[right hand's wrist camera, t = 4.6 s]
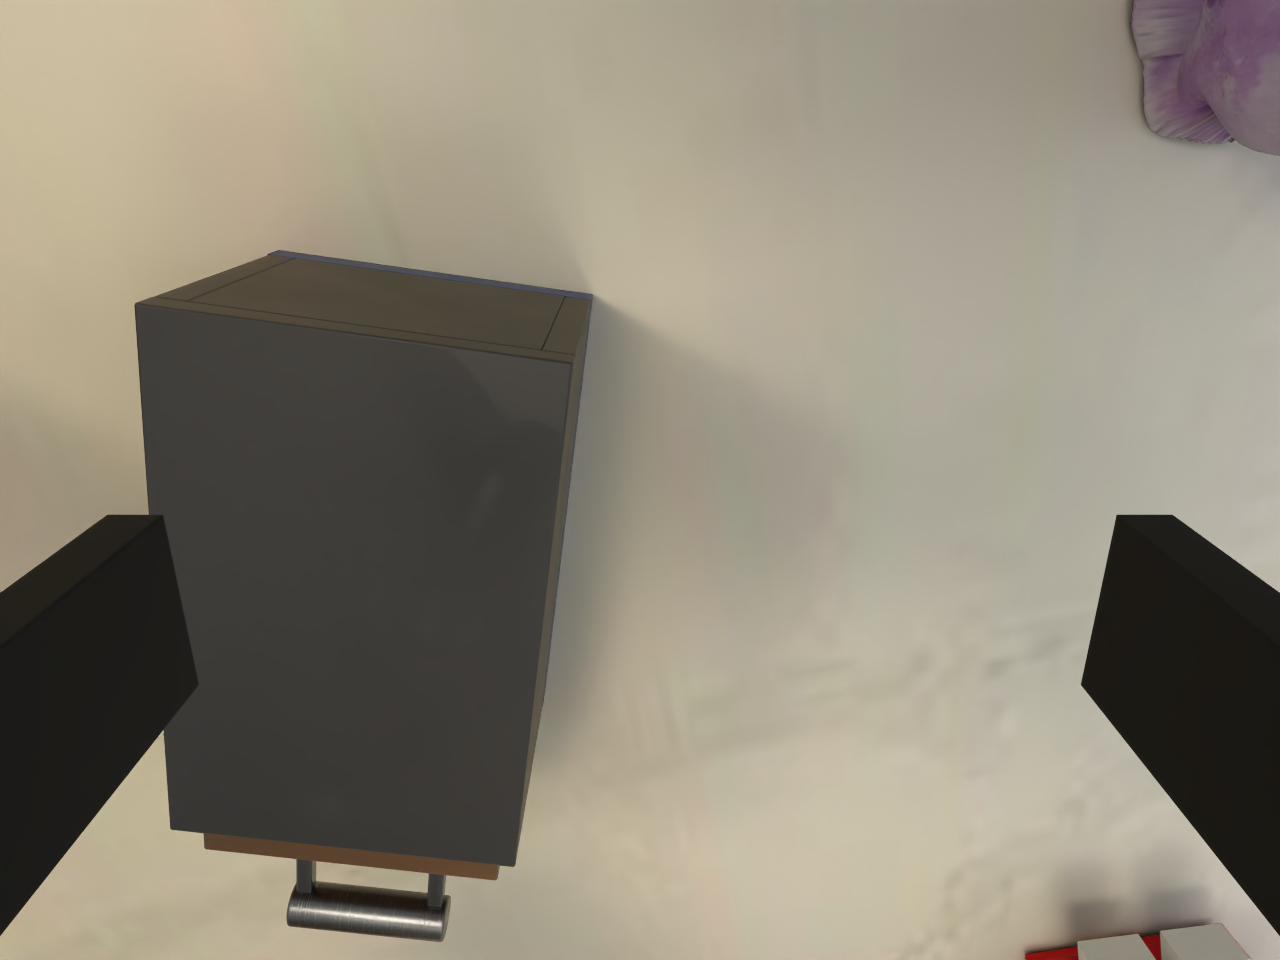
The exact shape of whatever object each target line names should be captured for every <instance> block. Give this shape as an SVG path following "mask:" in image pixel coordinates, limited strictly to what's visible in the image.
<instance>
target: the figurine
mask: <svg viewBox="0 0 1280 960" xmlns="http://www.w3.org/2000/svg"><path fill="white" fill-rule="evenodd" d="M1130 26H1131V29H1132V32H1133V36H1134V39H1135V43H1136V47H1137V51H1138V55H1139V59H1141V61H1142V63H1143V65H1144V70H1143V76H1144V101H1143V105H1144V114H1145V118H1146V121H1147V125H1148V126H1149V128H1150V129H1151V130H1152V131H1154V132H1157V133H1158V134H1159V135H1160V136H1163V137H1168V138H1176V137H1179V138H1180V139H1181V140H1182V139H1184V138H1186V139H1187V140H1188V141H1189V140H1192V139H1193V140H1194V141H1195V142H1197V141H1200V140H1201V141H1202V143H1205V142H1209V143H1210V144H1212V143H1218V144H1221V143H1224V142H1226V141H1229V142H1233V141H1234V140H1236V141H1237V142H1238V143H1240V144H1242V145H1243V146H1245V147H1247V148H1250V149H1252V150H1255V151H1258V152H1262V153H1267V154H1272V155H1278V156H1280V0H1133V10H1132V19H1131V21H1130Z"/></svg>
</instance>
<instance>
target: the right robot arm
mask: <svg viewBox="0 0 1280 960" xmlns="http://www.w3.org/2000/svg"><path fill="white" fill-rule="evenodd" d="M198 685H199V682H198V677H197V673H196V668H195V663H194V658H193V654H192V649H191V644H190V640H189V635H188V630H187V625H186V621H185V616H184V611H183V606H182V602H181V597H180V592H179V587H178V583H177V578H176V573H175V568H174V564H173V559H172V554H171V549H170V545H169V540H168V535H167V530H166V526H165V521H164V516H163V515H107V516H105V517H104V518H103V519H101V520H100V521H98V522H97V523H96V524H94V525H93V526H92V527H90V528H89V529H87V530H86V531H85V532H83V533H82V534H81V535H79V536H78V537H76V538H75V539H74V540H72V541H71V542H70V543H68V544H67V545H65V546H64V547H63V548H61V549H60V550H59V551H57V552H56V553H54V554H53V555H52V556H50V557H49V558H48V559H46V560H45V561H43V562H42V563H41V564H39V565H38V566H37V567H35V568H34V569H32V570H31V571H30V572H28V573H27V574H26V575H24V576H23V577H21V578H20V579H19V580H17V581H16V582H15V583H13V584H12V585H10V586H9V587H8V588H6V589H5V590H4V591H2V592H1V593H0V936H1V934H2V933H3V932H4V931H5V929H6V928H7V927H8V925H9V924H10V923H11V922H12V920H13V919H14V918H15V917H16V915H17V914H18V913H19V912H20V910H21V909H22V908H23V907H24V905H25V904H26V903H27V901H28V900H29V899H30V898H31V896H32V895H33V894H34V893H35V891H36V890H37V889H38V888H39V886H40V885H41V884H42V882H43V881H44V880H45V879H46V877H47V876H48V875H49V874H50V872H51V871H52V870H53V869H54V867H55V866H56V865H57V864H58V862H59V861H60V860H61V858H62V857H63V856H64V855H65V853H66V852H67V851H68V850H69V848H70V847H71V846H72V845H73V843H74V842H75V841H76V840H77V838H78V837H79V836H80V834H81V833H82V832H83V831H84V829H85V828H86V827H87V826H88V824H89V823H90V822H91V821H92V819H93V818H94V817H95V816H96V814H97V813H98V812H99V810H100V809H101V808H102V807H103V805H104V804H105V803H106V802H107V800H108V799H109V798H110V797H111V795H112V794H113V793H114V792H115V790H116V789H117V788H118V786H119V785H120V784H121V783H122V781H123V780H124V779H125V778H126V776H127V775H128V774H129V773H130V771H131V770H132V769H133V768H134V766H135V765H136V764H137V762H138V761H139V760H140V759H141V757H142V756H143V755H144V754H145V752H146V751H147V750H148V749H149V747H150V746H151V745H152V744H153V742H154V741H155V740H156V738H157V737H158V736H159V735H160V733H161V732H162V731H163V730H164V728H165V727H166V726H167V725H168V723H169V722H170V721H171V720H172V718H173V717H174V716H175V714H176V713H177V712H178V711H179V709H180V708H181V707H182V706H183V704H184V703H185V702H186V701H187V699H188V698H189V697H190V696H191V694H192V693H193V692H194V690H195V689H196V688H197V687H198ZM1081 685H1082V687H1083V688H1084V689H1085V690H1086V692H1087V693H1088V694H1089V696H1090V697H1091V698H1092V699H1093V701H1094V702H1095V703H1096V704H1097V706H1098V707H1099V708H1100V709H1101V711H1102V712H1103V713H1104V714H1105V716H1106V717H1107V718H1108V720H1109V721H1110V722H1111V723H1112V725H1113V726H1114V727H1115V728H1116V730H1117V731H1118V732H1119V733H1120V735H1121V736H1122V737H1123V738H1124V740H1125V741H1126V742H1127V744H1128V745H1129V746H1130V747H1131V749H1132V750H1133V751H1134V752H1135V754H1136V755H1137V756H1138V757H1139V759H1140V760H1141V761H1142V762H1143V764H1144V765H1145V766H1146V768H1147V769H1148V770H1149V771H1150V773H1151V774H1152V775H1153V776H1154V778H1155V779H1156V780H1157V781H1158V783H1159V784H1160V785H1161V786H1162V788H1163V789H1164V790H1165V792H1166V793H1167V794H1168V795H1169V797H1170V798H1171V799H1172V800H1173V802H1174V803H1175V804H1176V805H1177V807H1178V808H1179V809H1180V810H1181V812H1182V813H1183V814H1184V816H1185V817H1186V818H1187V819H1188V821H1189V822H1190V823H1191V824H1192V826H1193V827H1194V828H1195V829H1196V831H1197V832H1198V833H1199V834H1200V836H1201V837H1202V838H1203V840H1204V841H1205V842H1206V843H1207V845H1208V846H1209V847H1210V848H1211V850H1212V851H1213V852H1214V853H1215V855H1216V856H1217V857H1218V858H1219V860H1220V861H1221V862H1222V864H1223V865H1224V866H1225V867H1226V869H1227V870H1228V871H1229V872H1230V874H1231V875H1232V876H1233V877H1234V879H1235V880H1236V881H1237V883H1238V884H1239V885H1240V886H1241V888H1242V889H1243V890H1244V891H1245V893H1246V894H1247V895H1248V896H1249V898H1250V899H1251V900H1252V901H1253V903H1254V904H1255V905H1256V907H1257V908H1258V909H1259V910H1260V912H1261V913H1262V914H1263V915H1264V917H1265V918H1266V919H1267V920H1268V922H1269V923H1270V924H1271V925H1272V927H1273V928H1274V929H1275V931H1276V932H1277V933H1278V934H1279V936H1280V593H1279V592H1278V591H1276V590H1275V589H1274V588H1272V587H1271V586H1270V585H1268V584H1267V583H1265V582H1264V581H1263V580H1261V579H1260V578H1259V577H1257V576H1256V575H1254V574H1253V573H1252V572H1250V571H1249V570H1248V569H1246V568H1245V567H1243V566H1242V565H1241V564H1239V563H1238V562H1237V561H1235V560H1234V559H1232V558H1231V557H1230V556H1228V555H1227V554H1226V553H1224V552H1223V551H1221V550H1220V549H1219V548H1217V547H1216V546H1215V545H1213V544H1212V543H1210V542H1209V541H1208V540H1206V539H1205V538H1204V537H1202V536H1201V535H1199V534H1198V533H1197V532H1195V531H1194V530H1193V529H1191V528H1190V527H1188V526H1187V525H1186V524H1184V523H1183V522H1182V521H1180V520H1179V519H1177V518H1176V517H1175V516H1173V515H1117V516H1116V521H1115V526H1114V530H1113V535H1112V540H1111V545H1110V549H1109V554H1108V559H1107V564H1106V568H1105V573H1104V578H1103V583H1102V587H1101V592H1100V597H1099V602H1098V606H1097V611H1096V616H1095V621H1094V625H1093V630H1092V635H1091V640H1090V644H1089V649H1088V654H1087V658H1086V663H1085V668H1084V673H1083V677H1082V682H1081Z"/></svg>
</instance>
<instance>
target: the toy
mask: <svg viewBox="0 0 1280 960" xmlns="http://www.w3.org/2000/svg"><path fill="white" fill-rule="evenodd" d="M1077 945H1078V947H1072V948H1065V949H1058V950H1052V951H1045V952H1038V953H1031V954H1025V956H1026V960H1252V959H1251V958H1250V957H1249V956H1248V954H1247V953H1246V952H1245V951H1244V949H1243V948H1242V947H1241V946H1240V945H1239V943H1238V942H1237V941H1236V940H1235V939H1234V937H1233V936H1232V935H1231V934H1230V933H1229V931H1228V930H1227V929H1226V928H1225V927H1224V925H1223V924H1222V923H1217V924H1210V925H1202V926H1194V927H1186V928H1178V929H1170V930H1163V931H1160V934H1159V935H1152V936H1145V937H1140V936H1139V934H1131V935H1123V936H1115V937H1108V938H1100V939H1092V940H1084V941H1077Z"/></svg>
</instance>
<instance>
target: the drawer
mask: <svg viewBox="0 0 1280 960" xmlns="http://www.w3.org/2000/svg"><path fill="white" fill-rule="evenodd" d="M204 847H205V849H209V850H219V851H228V852H237V853H247V854H256V855H265V856H274V857H284V858H293V859H297V883H296V885H295V886H294V888H293V891H292V893H291V897H290V900H289V904H288V909H287V925H288V926H291V927H300V928H310V929H319V930H329V931H339V932H348V933H358V934H367V935H377V936H386V937H396V938H406V939H415V940H425V941H434V942H442V941H443V940H444V937H445V934H446V929H447V924H448V919H449V913H450V905H451V898H450V896H449V895H445V883H446V875H450V876H460V877H469V878H478V879H487V880H497V878H498V873H499V868H500V865H492V864H483V863H474V862H464V861H455V860H446V859H437V858H428V857H418V856H409V855H400V854H391V853H382V852H372V851H363V850H354V849H345V848H336V847H327V846H317V845H308V844H299V843H290V842H281V841H271V840H262V839H253V838H244V837H235V836H225V835H216V834H207V833H204ZM316 861H321V862H330V863H339V864H348V865H358V866H367V867H376V868H386V869H395V870H404V871H413V872H423V873H429V881H428V893H422V892H413V891H404V890H394V889H385V888H376V887H366V886H357V885H348V884H338V883H329V882H319V881H316Z"/></svg>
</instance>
